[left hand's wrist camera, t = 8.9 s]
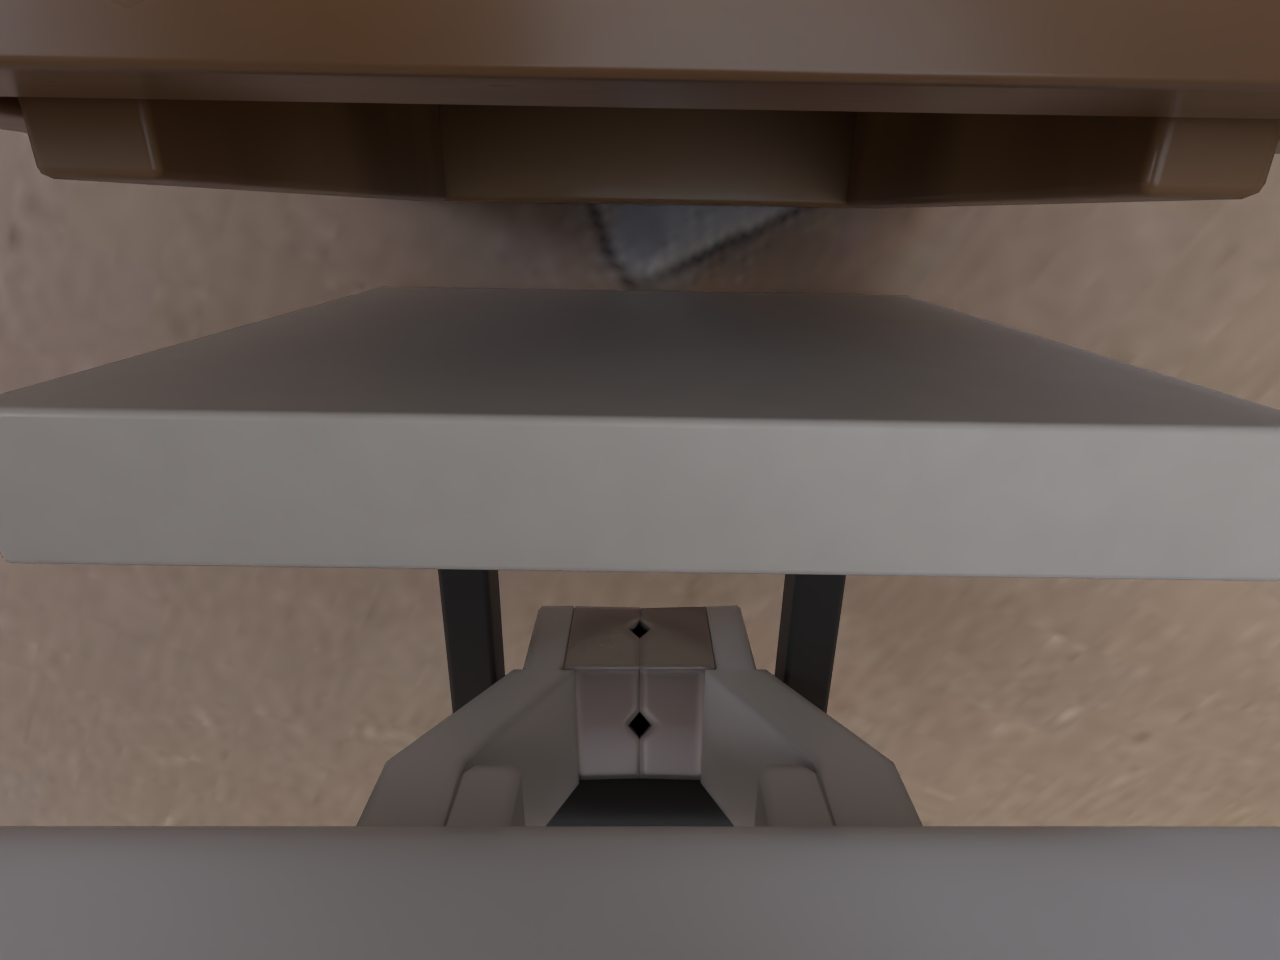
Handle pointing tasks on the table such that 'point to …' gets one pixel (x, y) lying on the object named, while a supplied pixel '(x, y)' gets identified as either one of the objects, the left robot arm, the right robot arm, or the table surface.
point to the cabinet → (658, 54)
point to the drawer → (642, 383)
